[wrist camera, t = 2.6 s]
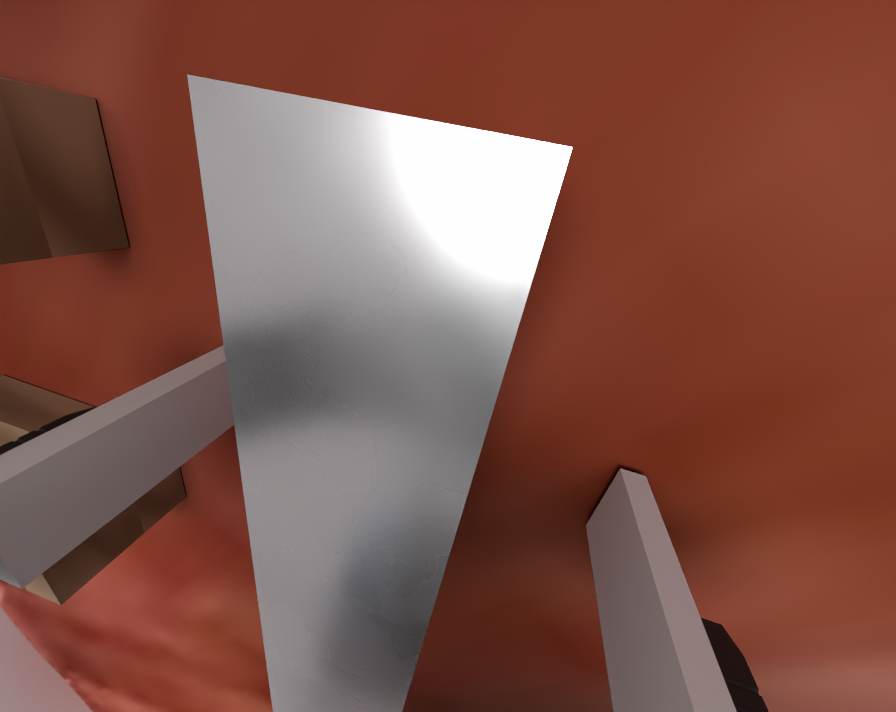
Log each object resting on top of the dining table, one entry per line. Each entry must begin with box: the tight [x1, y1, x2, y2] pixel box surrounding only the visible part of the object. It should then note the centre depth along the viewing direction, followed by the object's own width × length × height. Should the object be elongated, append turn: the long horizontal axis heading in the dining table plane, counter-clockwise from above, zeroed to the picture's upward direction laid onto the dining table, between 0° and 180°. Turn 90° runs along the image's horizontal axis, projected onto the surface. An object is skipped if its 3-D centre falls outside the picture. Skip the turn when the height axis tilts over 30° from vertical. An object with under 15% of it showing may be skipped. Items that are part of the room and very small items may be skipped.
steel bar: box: [187, 75, 573, 712], centre depth 10 cm, size 17×4×6 cm, turn 169°
